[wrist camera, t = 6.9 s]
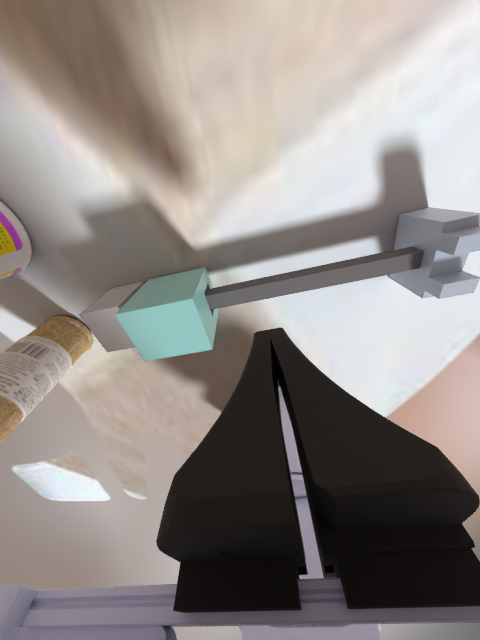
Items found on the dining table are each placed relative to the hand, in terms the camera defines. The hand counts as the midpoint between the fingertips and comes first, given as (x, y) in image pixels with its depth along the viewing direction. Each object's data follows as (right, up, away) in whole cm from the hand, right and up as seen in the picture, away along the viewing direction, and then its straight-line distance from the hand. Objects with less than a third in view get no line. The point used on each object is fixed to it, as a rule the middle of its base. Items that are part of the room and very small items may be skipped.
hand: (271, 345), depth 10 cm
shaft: (0, +4, +6) cm, 7 cm away
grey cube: (-11, +3, +9) cm, 14 cm away
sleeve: (-6, +4, +8) cm, 11 cm away
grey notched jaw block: (+12, +7, +6) cm, 15 cm away
